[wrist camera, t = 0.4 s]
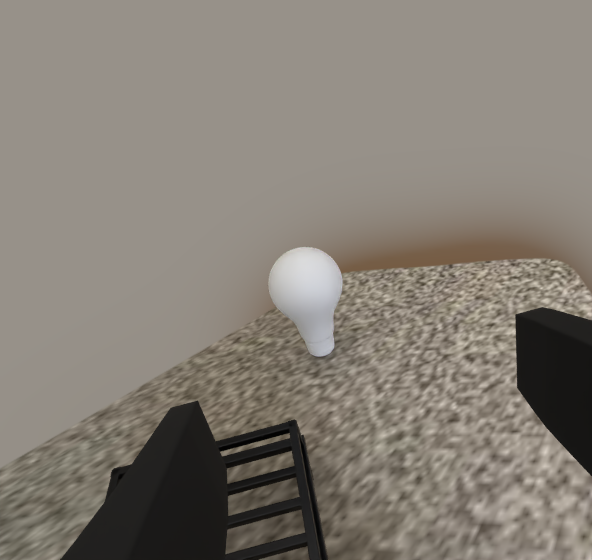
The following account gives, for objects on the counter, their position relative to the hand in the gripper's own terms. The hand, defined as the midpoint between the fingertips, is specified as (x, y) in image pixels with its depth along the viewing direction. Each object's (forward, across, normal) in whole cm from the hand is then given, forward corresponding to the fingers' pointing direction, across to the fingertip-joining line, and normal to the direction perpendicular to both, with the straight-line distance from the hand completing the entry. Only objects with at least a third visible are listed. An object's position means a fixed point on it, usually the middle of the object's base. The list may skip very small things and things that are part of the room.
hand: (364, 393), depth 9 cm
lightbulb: (+25, 0, +16) cm, 29 cm away
